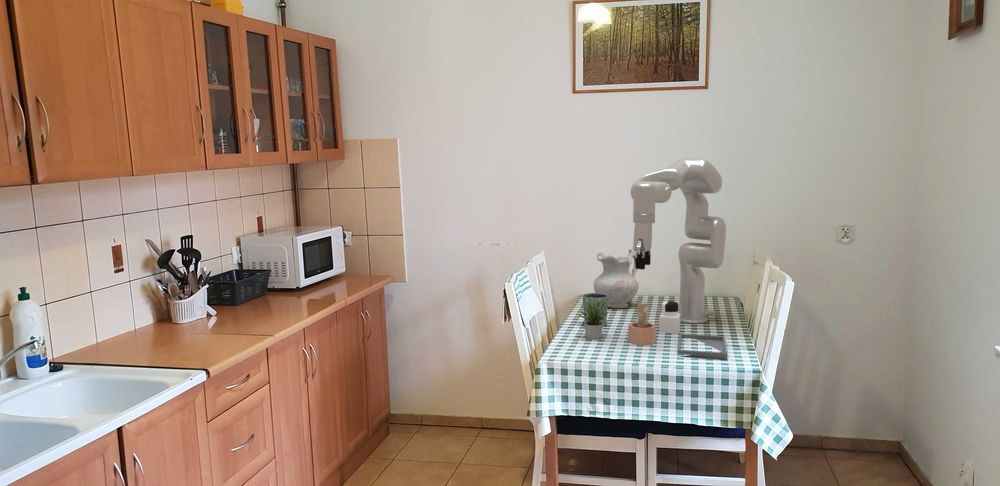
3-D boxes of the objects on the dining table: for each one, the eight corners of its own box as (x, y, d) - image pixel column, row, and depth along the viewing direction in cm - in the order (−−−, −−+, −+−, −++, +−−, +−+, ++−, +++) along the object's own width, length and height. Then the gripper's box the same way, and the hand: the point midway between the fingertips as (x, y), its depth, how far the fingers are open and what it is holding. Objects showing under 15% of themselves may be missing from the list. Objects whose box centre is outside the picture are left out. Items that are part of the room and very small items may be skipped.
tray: (679, 339, 265) (679, 333, 265) (725, 342, 261) (725, 336, 261) (677, 356, 244) (677, 350, 244) (727, 360, 240) (727, 353, 240)
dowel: (644, 340, 261) (644, 303, 259) (648, 342, 258) (648, 305, 256) (635, 340, 260) (636, 304, 259) (639, 343, 257) (640, 305, 256)
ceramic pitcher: (616, 300, 336) (613, 247, 334) (651, 304, 321) (648, 248, 319) (586, 308, 321) (582, 252, 319) (621, 312, 307) (618, 254, 305)
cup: (647, 340, 265) (647, 321, 264) (659, 346, 256) (659, 327, 255) (624, 342, 263) (625, 323, 262) (636, 348, 254) (636, 329, 253)
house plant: (624, 339, 266) (624, 296, 263) (601, 347, 256) (601, 302, 254) (593, 333, 275) (593, 290, 273) (570, 340, 266) (570, 296, 264)
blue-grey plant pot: (610, 327, 283) (610, 297, 282) (584, 328, 282) (585, 298, 281) (604, 321, 293) (604, 292, 292) (579, 322, 292) (580, 292, 291)
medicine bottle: (680, 331, 277) (680, 300, 275) (678, 336, 270) (679, 304, 268) (661, 329, 279) (661, 299, 277) (658, 334, 272) (659, 303, 271)
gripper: (638, 216, 263) (637, 262, 265) (627, 220, 247) (627, 270, 249) (659, 216, 260) (658, 263, 262) (649, 221, 244) (648, 271, 246)
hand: (643, 266), depth 256 cm, fingers open, 9 cm apart
